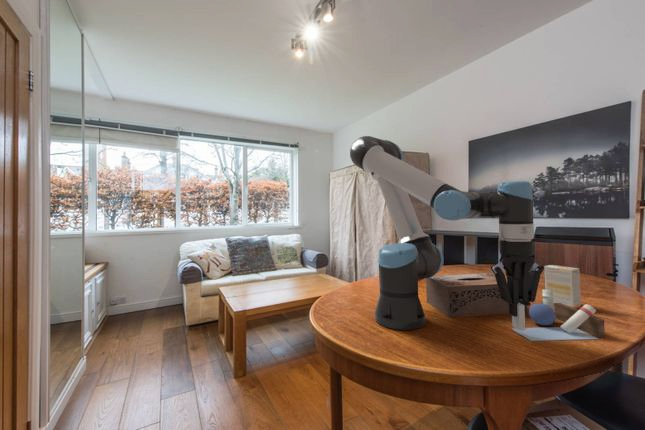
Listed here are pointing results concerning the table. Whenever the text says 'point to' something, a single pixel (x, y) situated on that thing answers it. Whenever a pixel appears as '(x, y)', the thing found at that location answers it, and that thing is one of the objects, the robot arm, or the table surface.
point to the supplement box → (564, 284)
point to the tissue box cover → (465, 295)
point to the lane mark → (552, 334)
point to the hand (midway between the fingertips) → (518, 327)
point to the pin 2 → (578, 318)
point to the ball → (542, 314)
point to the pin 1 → (548, 298)
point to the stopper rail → (590, 325)
